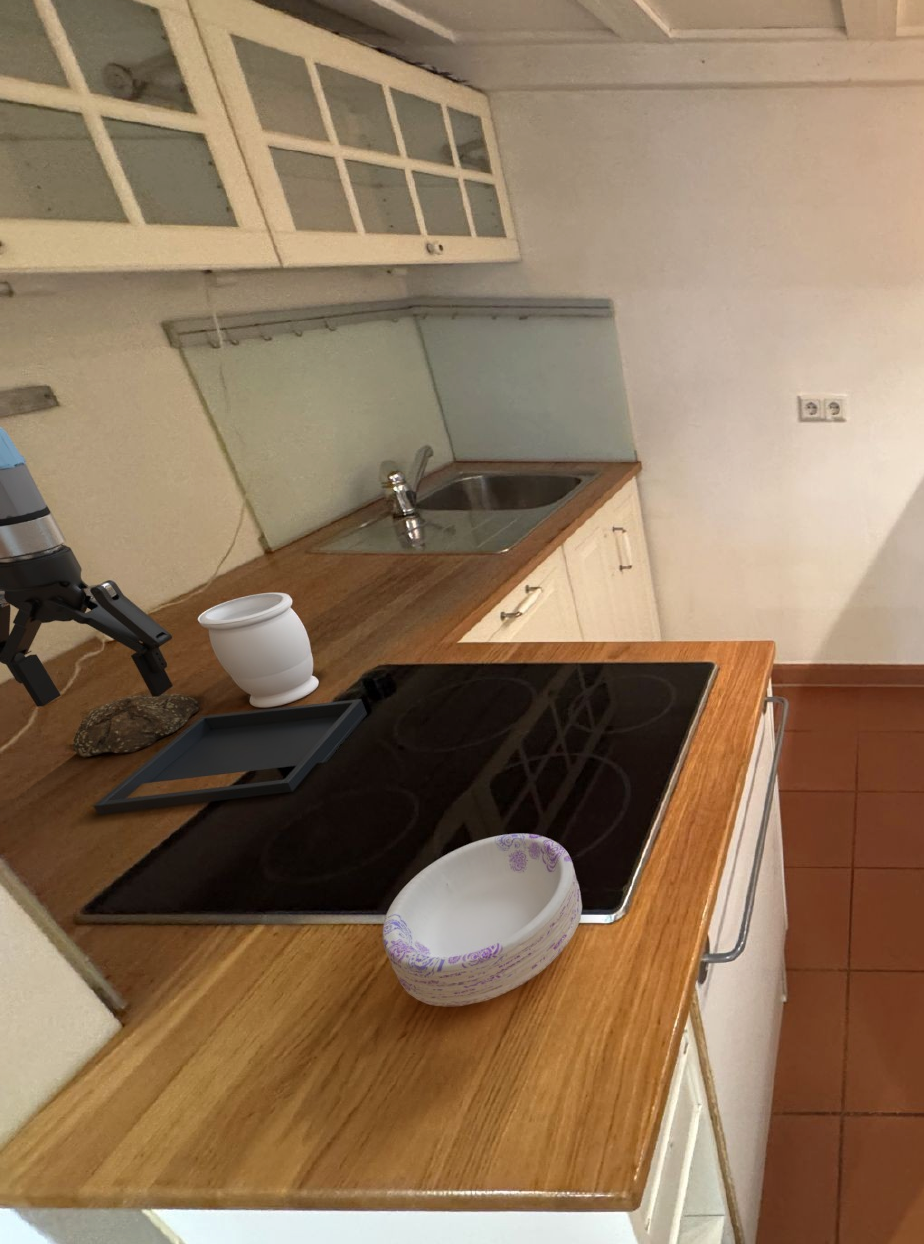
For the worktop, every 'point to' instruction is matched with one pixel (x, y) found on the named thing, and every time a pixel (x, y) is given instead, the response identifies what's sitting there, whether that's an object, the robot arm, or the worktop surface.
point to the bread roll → (132, 723)
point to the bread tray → (240, 753)
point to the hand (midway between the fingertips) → (106, 696)
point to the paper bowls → (483, 919)
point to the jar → (262, 647)
